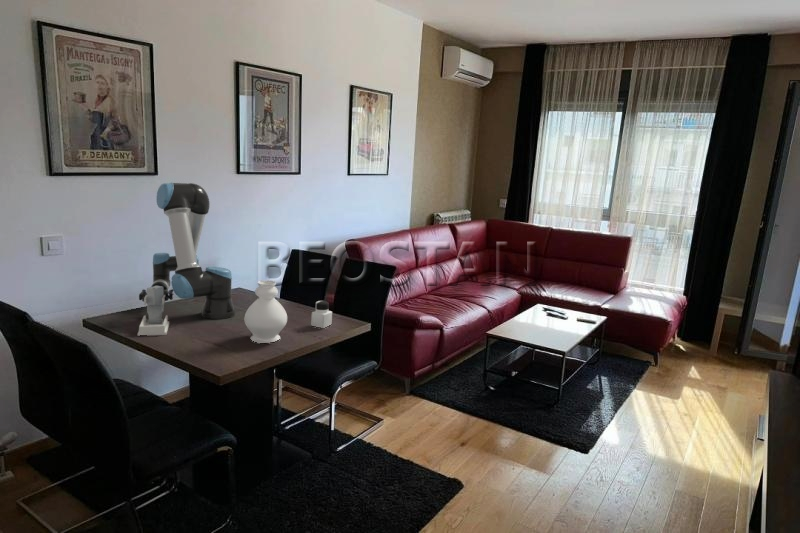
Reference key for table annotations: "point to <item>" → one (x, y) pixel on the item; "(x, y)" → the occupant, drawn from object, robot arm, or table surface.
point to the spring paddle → (155, 313)
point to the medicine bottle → (321, 315)
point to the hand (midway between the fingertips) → (154, 301)
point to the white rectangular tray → (153, 327)
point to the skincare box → (155, 296)
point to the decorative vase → (265, 314)
